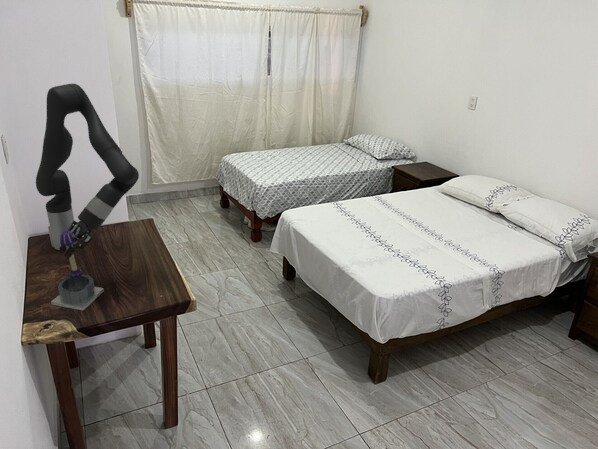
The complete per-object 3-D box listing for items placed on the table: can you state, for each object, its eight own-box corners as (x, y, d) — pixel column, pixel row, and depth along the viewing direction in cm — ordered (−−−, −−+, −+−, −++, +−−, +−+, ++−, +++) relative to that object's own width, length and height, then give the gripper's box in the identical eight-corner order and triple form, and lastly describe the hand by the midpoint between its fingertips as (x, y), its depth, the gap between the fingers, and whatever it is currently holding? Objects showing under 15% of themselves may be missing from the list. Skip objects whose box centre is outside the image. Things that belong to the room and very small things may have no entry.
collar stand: (51, 304, 148) (48, 289, 146) (74, 285, 159) (71, 271, 156) (83, 310, 146) (80, 295, 144) (104, 290, 157) (101, 276, 154)
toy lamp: (65, 279, 146) (56, 235, 139) (68, 271, 150) (59, 229, 143) (81, 277, 147) (72, 234, 140) (83, 270, 151) (75, 228, 144)
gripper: (79, 200, 147) (47, 240, 145) (93, 214, 138) (59, 258, 136) (98, 210, 153) (67, 249, 151) (112, 225, 143) (80, 267, 141)
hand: (64, 253), depth 143 cm, fingers closed on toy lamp, 4 cm apart
